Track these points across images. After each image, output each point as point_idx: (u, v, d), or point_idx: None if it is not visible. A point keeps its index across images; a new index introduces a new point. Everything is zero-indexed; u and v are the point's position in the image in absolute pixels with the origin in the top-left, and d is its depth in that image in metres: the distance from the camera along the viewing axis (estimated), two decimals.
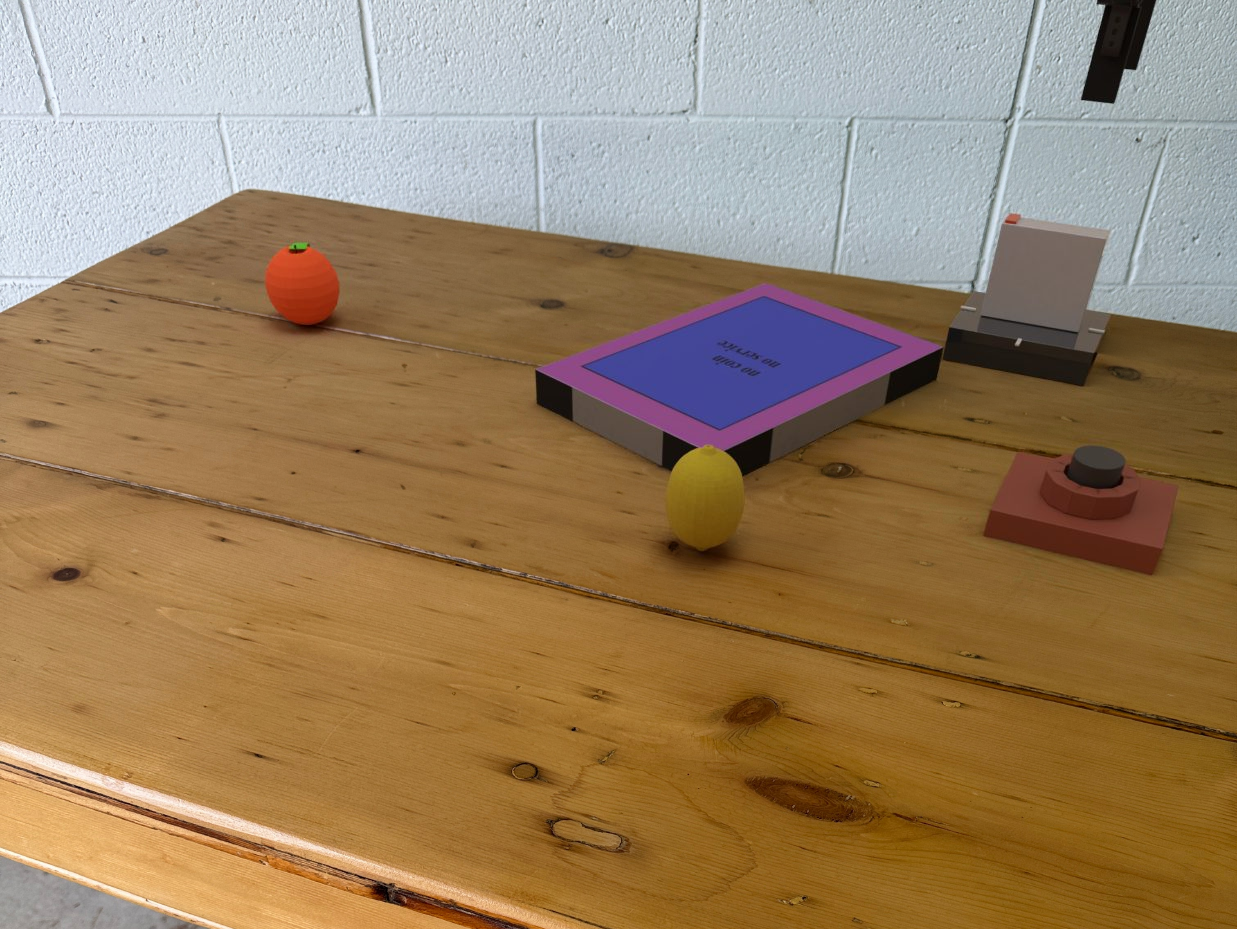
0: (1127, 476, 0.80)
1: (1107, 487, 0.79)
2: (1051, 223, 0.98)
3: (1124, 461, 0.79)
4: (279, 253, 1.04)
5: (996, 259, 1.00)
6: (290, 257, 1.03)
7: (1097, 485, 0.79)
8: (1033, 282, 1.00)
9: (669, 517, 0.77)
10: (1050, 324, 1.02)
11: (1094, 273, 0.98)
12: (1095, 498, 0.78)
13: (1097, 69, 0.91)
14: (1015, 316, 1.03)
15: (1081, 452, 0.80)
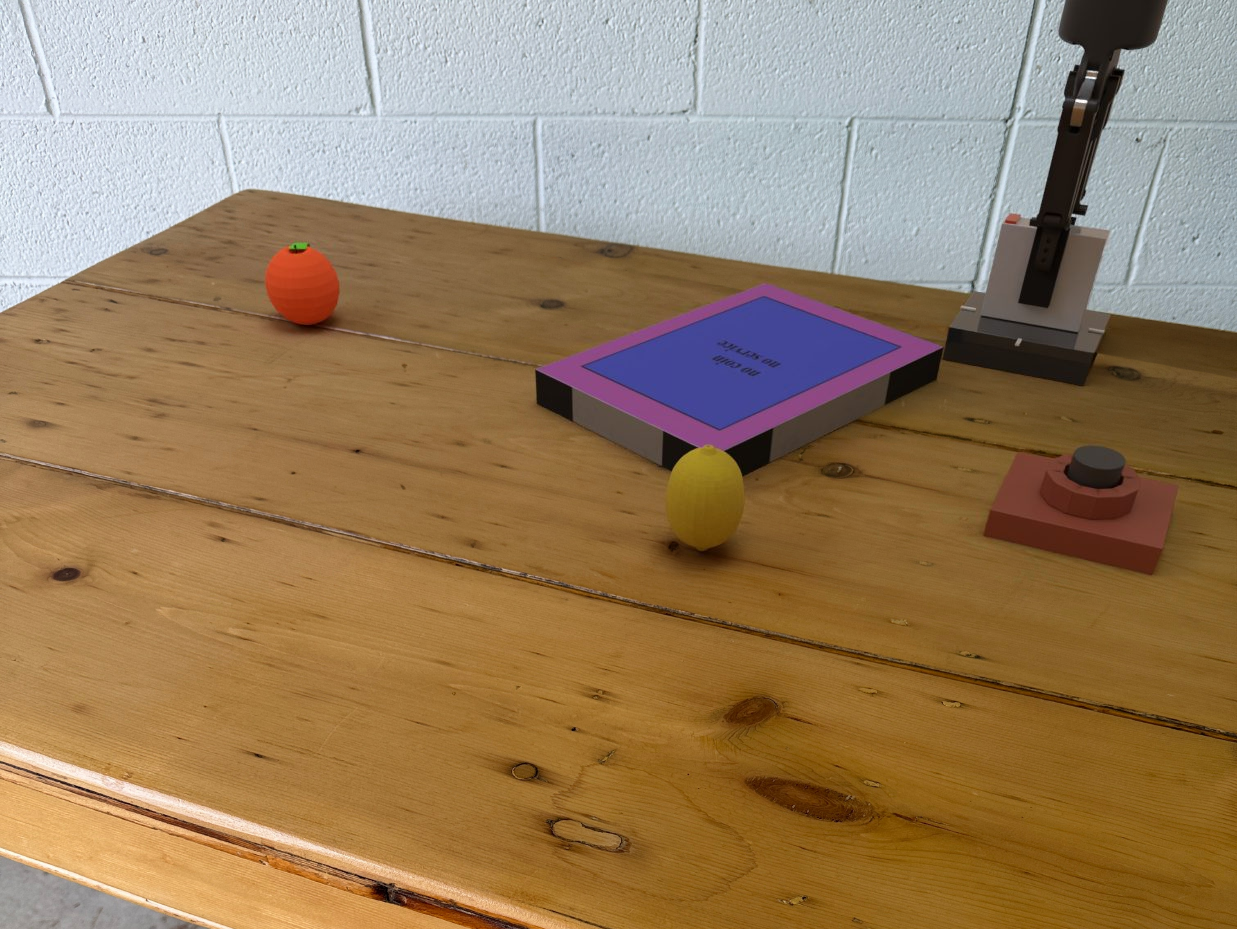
0: (1127, 476, 0.80)
1: (1107, 487, 0.79)
2: None
3: (1124, 461, 0.79)
4: (279, 253, 1.04)
5: (996, 259, 1.00)
6: (290, 257, 1.03)
7: (1097, 485, 0.79)
8: None
9: (669, 517, 0.77)
10: (1050, 324, 1.02)
11: (1094, 273, 0.98)
12: (1095, 498, 0.78)
13: (1032, 278, 0.99)
14: (1015, 316, 1.03)
15: (1081, 452, 0.80)
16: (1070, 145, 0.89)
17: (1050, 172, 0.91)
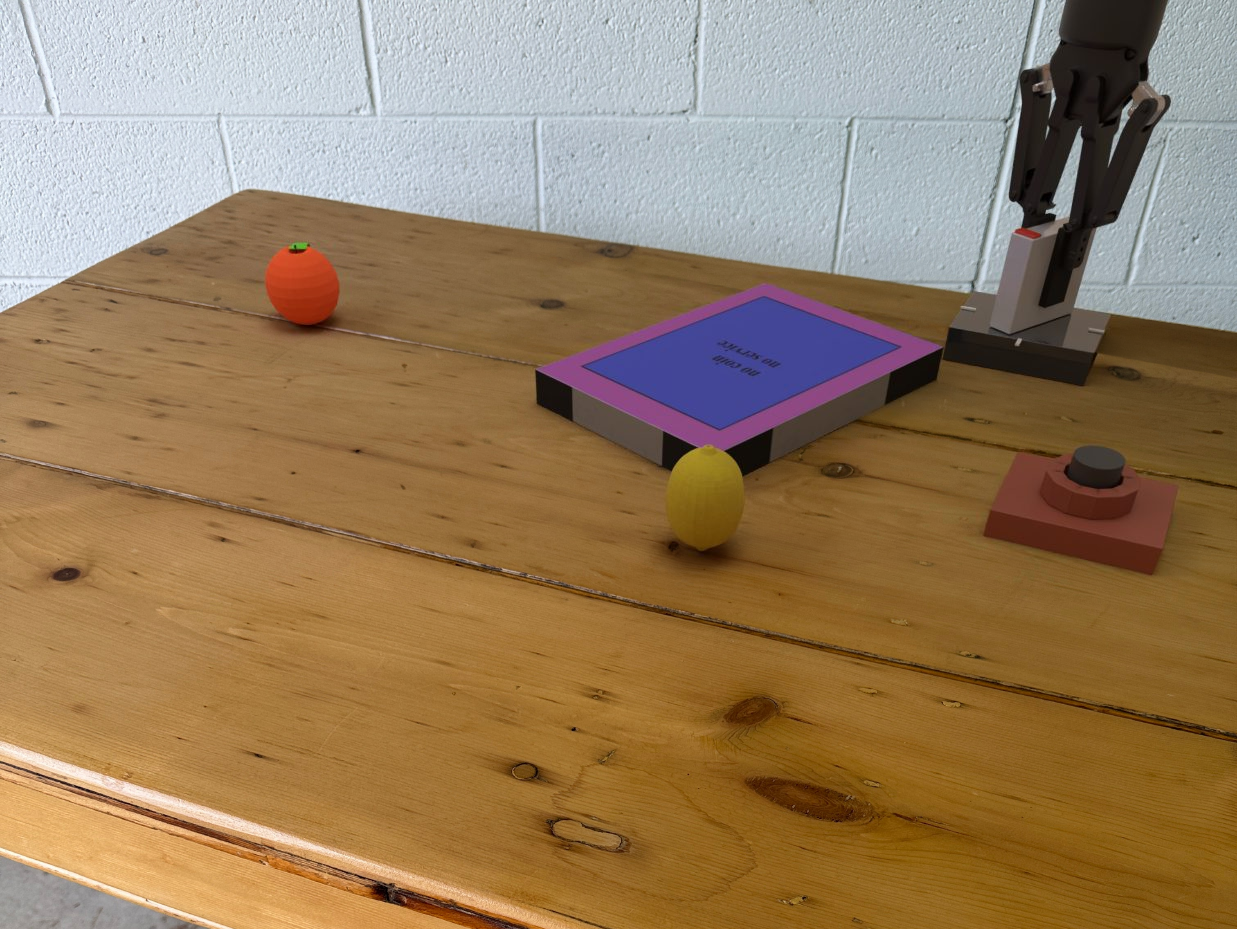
0: (1127, 476, 0.80)
1: (1107, 487, 0.79)
2: (1046, 225, 0.98)
3: (1124, 461, 0.79)
4: (279, 252, 1.04)
5: (1026, 276, 0.97)
6: (290, 257, 1.03)
7: (1097, 485, 0.79)
8: None
9: (669, 517, 0.77)
10: (1055, 315, 1.03)
11: (1088, 255, 1.01)
12: (1095, 498, 0.78)
13: (1056, 280, 0.99)
14: (1033, 321, 1.02)
15: (1081, 452, 0.80)
16: (1139, 144, 0.89)
17: (1119, 175, 0.90)
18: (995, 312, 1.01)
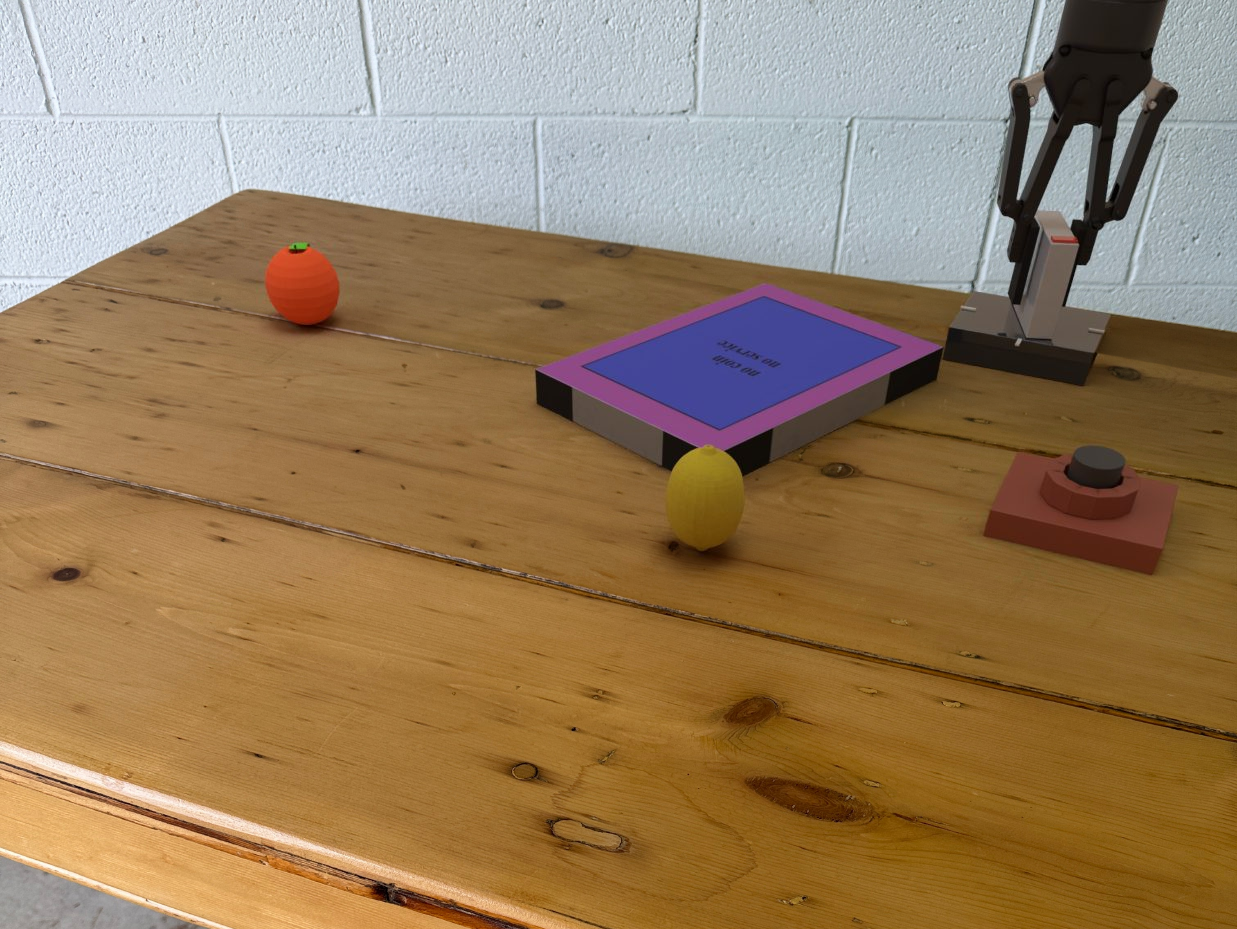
0: (1127, 476, 0.80)
1: (1107, 487, 0.79)
2: (1049, 228, 0.97)
3: (1124, 461, 0.79)
4: (279, 252, 1.04)
5: (1068, 280, 0.97)
6: (290, 257, 1.03)
7: (1097, 485, 0.79)
8: None
9: (669, 517, 0.77)
10: None
11: None
12: (1095, 498, 0.78)
13: None
14: None
15: (1081, 452, 0.80)
16: None
17: (1144, 165, 0.93)
18: (1033, 323, 0.99)
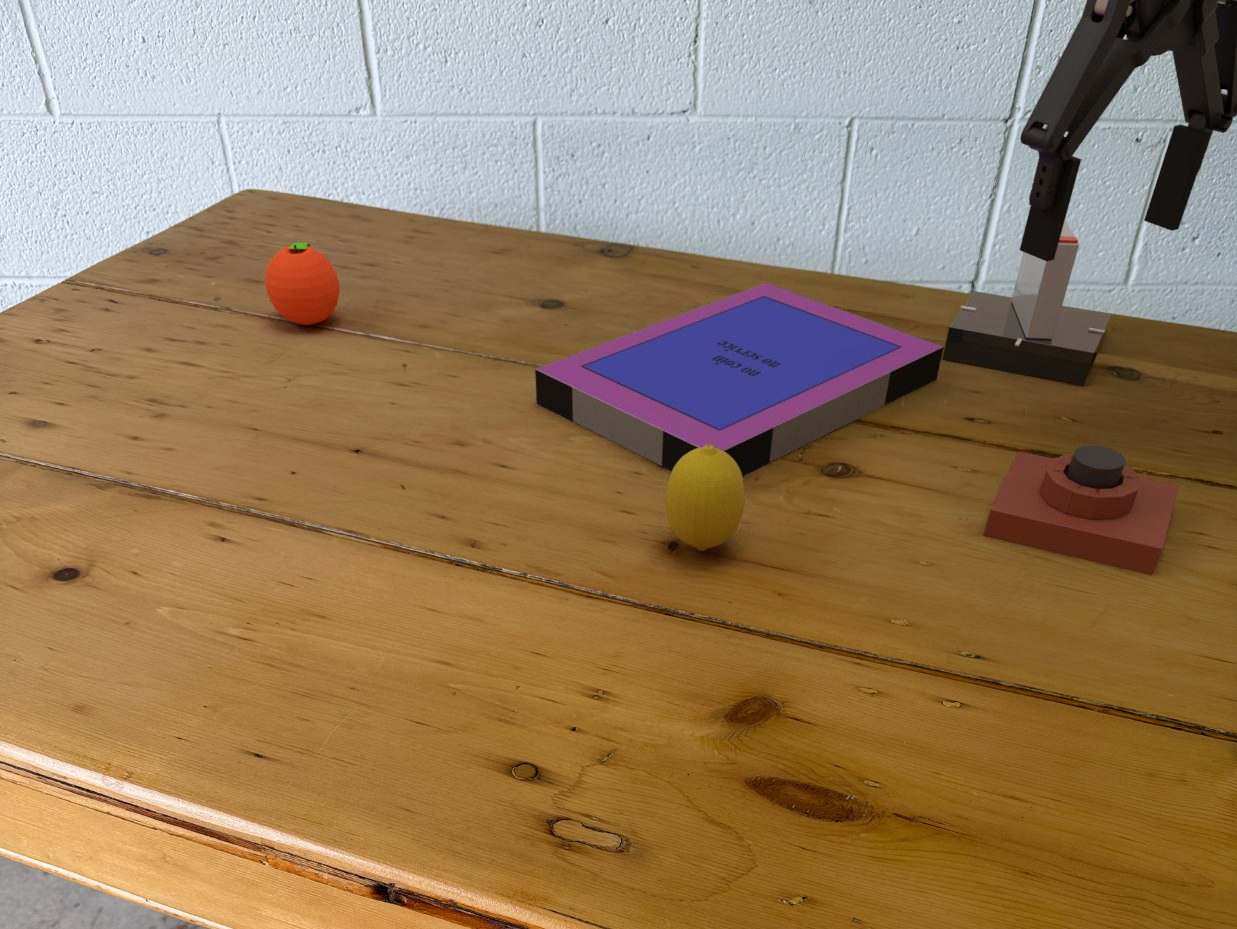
0: (1127, 476, 0.80)
1: (1107, 487, 0.79)
2: None
3: (1124, 461, 0.79)
4: (279, 253, 1.04)
5: (1068, 280, 0.97)
6: (290, 257, 1.03)
7: (1097, 485, 0.79)
8: None
9: (669, 517, 0.77)
10: None
11: None
12: (1095, 498, 0.78)
13: None
14: None
15: (1081, 452, 0.80)
16: None
17: None
18: (1033, 323, 0.99)
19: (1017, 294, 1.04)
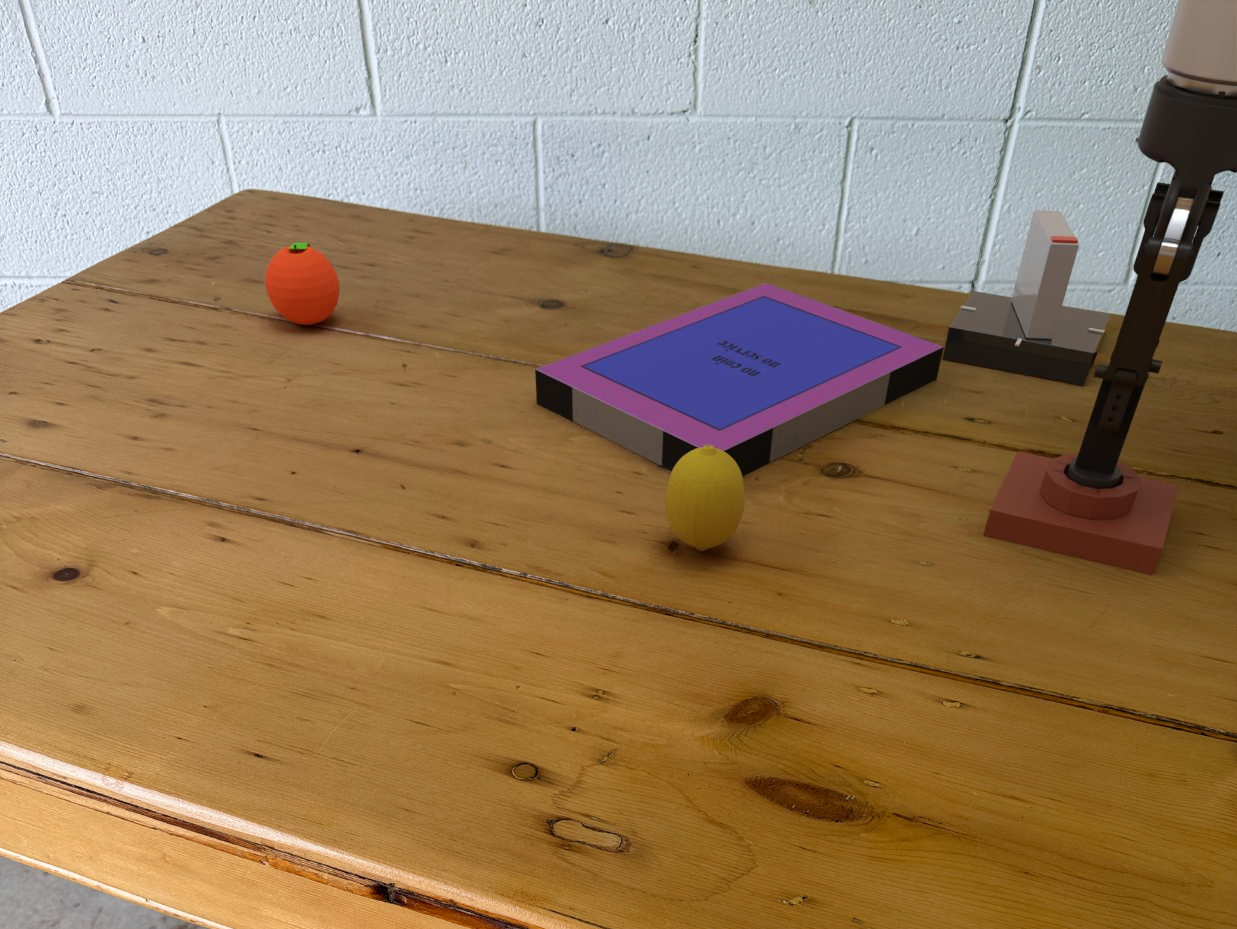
0: (1127, 476, 0.80)
1: None
2: (1049, 228, 0.97)
3: (1120, 472, 0.80)
4: (279, 252, 1.04)
5: (1068, 280, 0.97)
6: (290, 257, 1.03)
7: None
8: None
9: (669, 517, 0.77)
10: None
11: None
12: (1095, 498, 0.78)
13: None
14: None
15: None
16: None
17: None
18: (1033, 323, 0.99)
19: (1017, 294, 1.04)
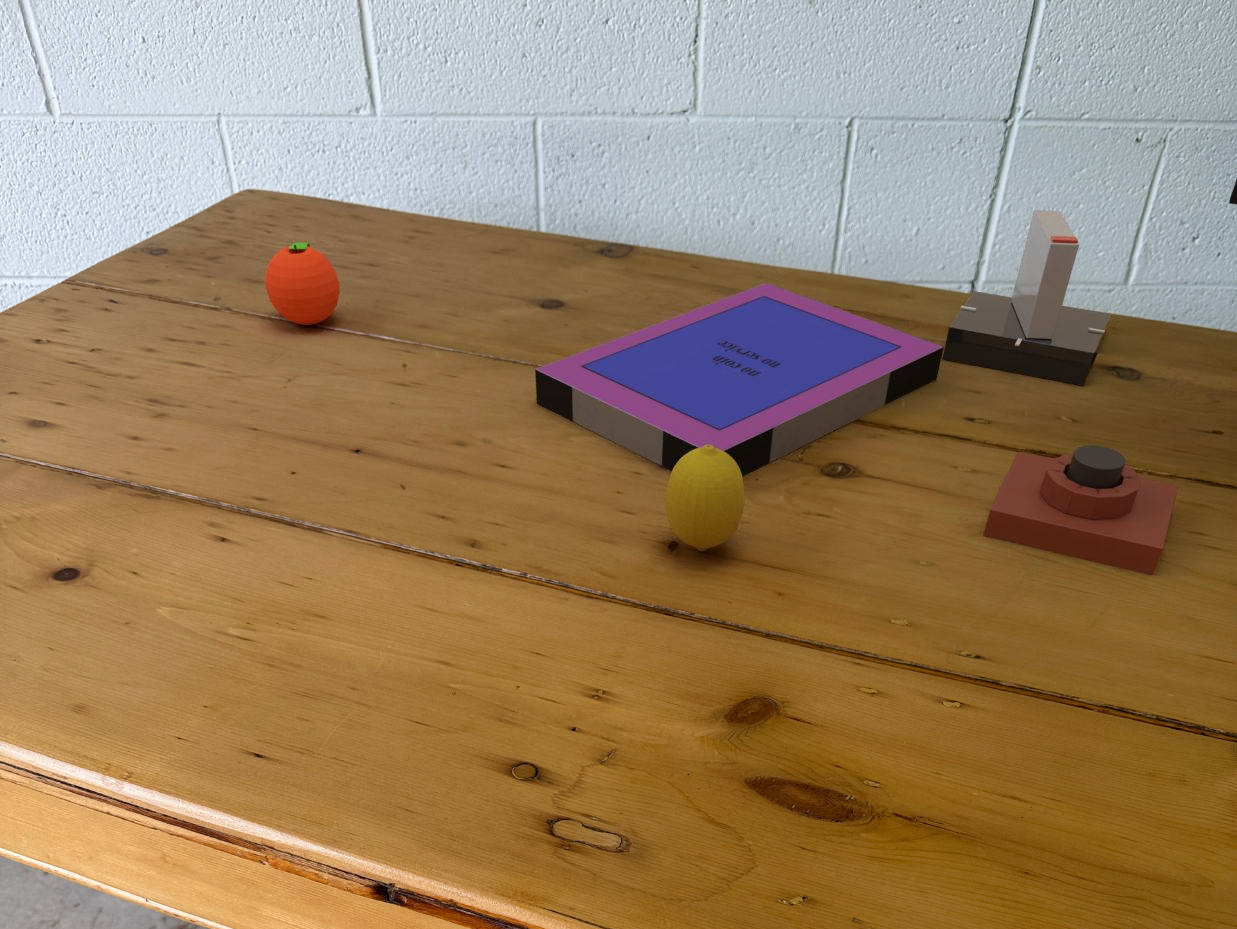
0: (1127, 476, 0.80)
1: (1107, 487, 0.79)
2: (1049, 228, 0.97)
3: (1124, 461, 0.79)
4: (279, 253, 1.04)
5: (1068, 280, 0.97)
6: (290, 257, 1.03)
7: (1097, 485, 0.79)
8: None
9: (669, 517, 0.77)
10: None
11: None
12: (1095, 498, 0.78)
13: None
14: None
15: (1081, 452, 0.80)
16: None
17: None
18: (1033, 323, 0.99)
19: (1017, 294, 1.04)
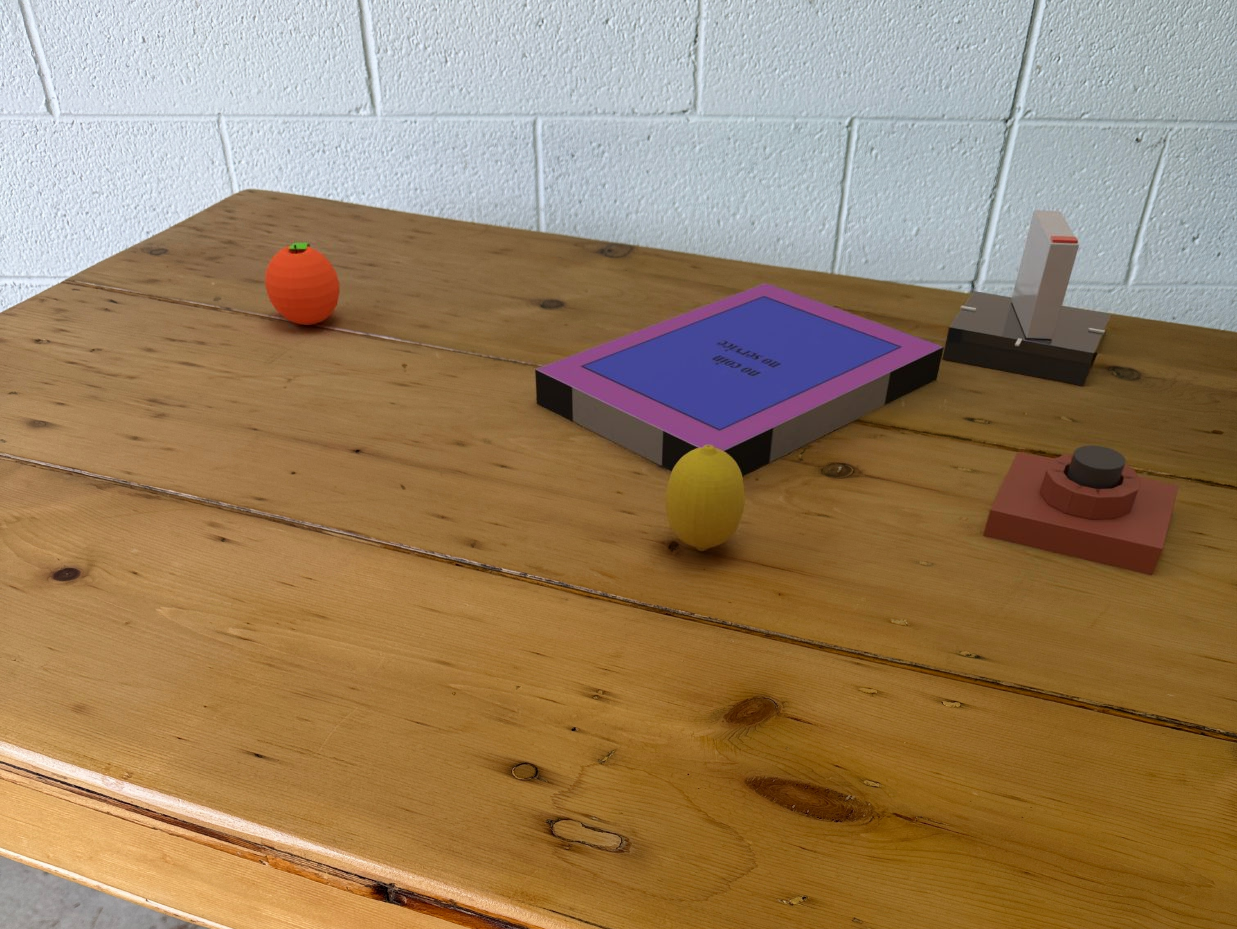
0: (1127, 476, 0.80)
1: (1107, 487, 0.79)
2: (1049, 228, 0.97)
3: (1124, 461, 0.79)
4: (279, 253, 1.04)
5: (1068, 280, 0.97)
6: (290, 257, 1.03)
7: (1097, 485, 0.79)
8: None
9: (669, 517, 0.77)
10: None
11: None
12: (1095, 498, 0.78)
13: None
14: None
15: (1081, 452, 0.80)
16: None
17: None
18: (1033, 323, 0.99)
19: (1017, 294, 1.04)
